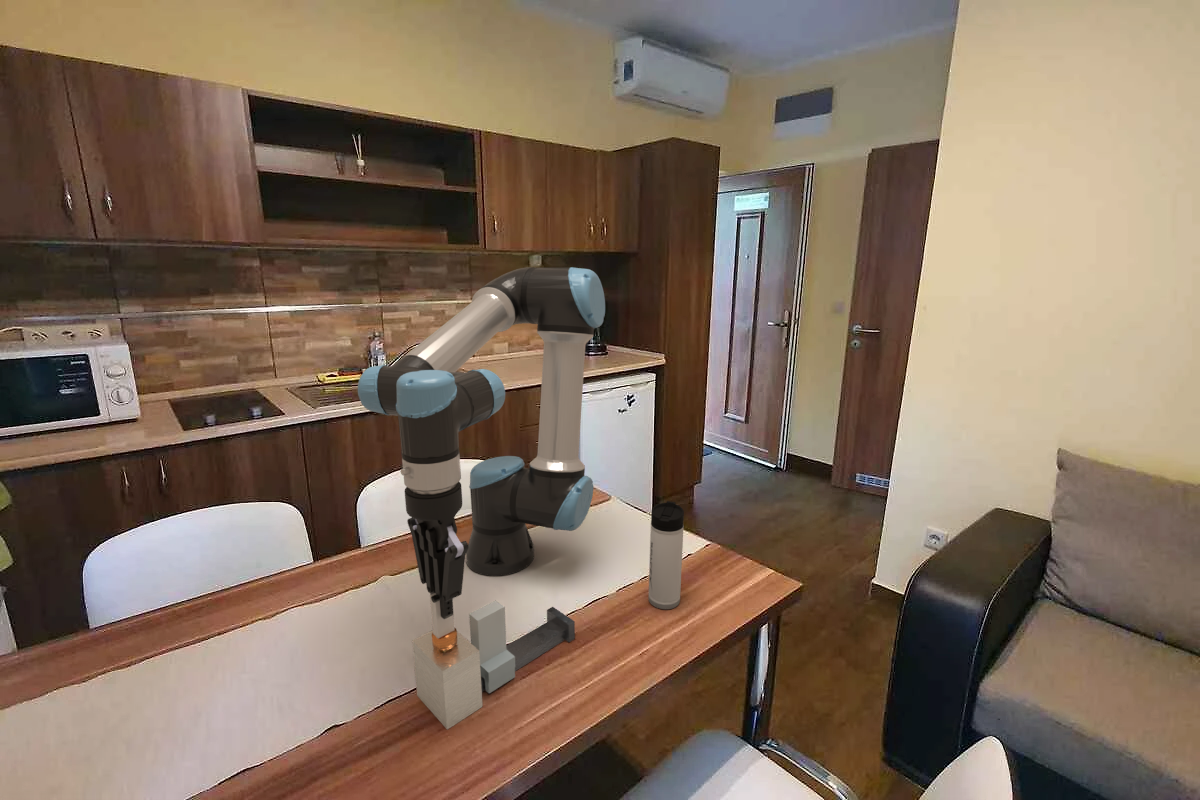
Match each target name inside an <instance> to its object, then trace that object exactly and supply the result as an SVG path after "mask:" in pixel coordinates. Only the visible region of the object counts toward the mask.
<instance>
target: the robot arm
mask: <svg viewBox="0 0 1200 800" xmlns="http://www.w3.org/2000/svg"><path fill="white" fill-rule="evenodd" d="M605 314H606V298H605V293H604V288H603V284H602V281H601V279H600V278H599V276H598V274H597V273H596V272H595V271H593V270H591V269H589V268H583V267H582V268H580V267H579V268H578V267H573V266H572V267H534V266H533V267H531V266H530V267H527V266H526V267H521V268H517V269H514V270H511V271H508V272H506V273H504V274H501V275H500V276H498V277H496V278H494V279H492V280H491V281H489V282H488V283H486V284H485V285H483V286H481V288H479V289H478V290H477V291H476V292H475V293H474V294H473V296H472V299H471V302H470V303H469V304H468V305H466V306H465V307H464V308H463V309H461V310H460V311H459V312H457V314H455V315H454V316H453V317H452V318H450V319H449V320H447V322H445V323H444V324H442V325H441V326H440V327H439V328H438V329H436V330H435V331H434V332H433V333H431V334H430V335H429V336H427V338H425V339H424V340H423V341H421V342H420V343H419V344H418V345H416V346H414V348H413V349H411V350H410V351H409V352H408V353H406V354H405V355H404V356H403V357H401V359H399V360H398V361H396V362H395V363H393V364H392V365H390V366H388V365H386V364H382V365H375V366H369V367H368V368H367V369H365V370H364V371H363V372H362V374H361V376H360V377H359V379H358V383H357V384H358V385H357V396H358V399H359V401H360V403H361V405H362V406H363V408H365V409H366V410H368V411H370V412H371V413H372V412H374V413H378V414H381V415H382V414H383V415H386V416H396V417H397V418H398V427H399V438H400V448H401V462H402V468H401V469H400V474H401V476H403V484H404V486H405V489H404V501H405V511H406V513H407V515H408V516H409V517H410V518H408V519H407V522H406V523H407V526H408V528H409V531H410V533H411V539H412V544H413V549H414V553H415V558H416V564H417V569H418V574H419V579H420V583H422V585H424V584H425V585H426V590H427V592H428V593H429V594H430V595H429V599H430V600H429V601H430V613H431V623H432V624H431V625H432V630H433V634H434V635H435V636H436V637H437V638H438V639H439V638H440V637H442V636H444V635H446V634H448V633H450V632H452V631H454V630H455V629H454V627H455V618H454V616H455V615H454V602H453V599H455V598H457V597H459V596H461V595H462V591H463V581H464V571H465V562H466V565H467V567H468V568H469V569H471V571H472V572H475V573H477V574H481V575H484V576H494V577H495V576H496V577H497V576H499V577H500V576H506V575H507V576H508V575H510V574H514V573H518V572H521V571H522V570H524V569H526V568H527V567H528V566H530V564H532V562H533V561H534V559H535V545H534V542H533V540H532V537H531V535H530V532H529V530H528V527H527V525H532V526H537V527H543V528H548V529H552V530H554V531H559V530H561V531H567V532H568V531H569V532H571V531H574V530H577V529H578V528H579V527H580V526H581V525H582V524H583V523H584V521H585V519H586V516H588V513H589V510H590V507H591V504H592V501H593V500H592V499H593V494H594V481H593V479H592V478H591V477H589V475H585V471H586V466H585V464H584V463H583V461H581V459H580V458H579V451H580V449H579V448H580V435H581V422H582V421H581V419H582V405H583V403H582V402H583V390H584V389H583V387H584V374H585V359H586V358H585V357H586V356H585V355H586V345H587V343H588V342H589V341H590V340H591V339H592V338H593V337H594V330H595V329H597V328H600V326H602V325H603V323H604V318H605V316H606V315H605ZM521 324H530V325H537V328H536V329H537V331H536V334H537V335H539V337H540V338H541V339H542V341H543V354H542V370H541V385H540V387H541V388H540V389H541V390H540V405H539V407H540V408H539V425H538V443H537V455H536V457H535V458H533V459H532V461H530V462H529V468H528V467H525V465H526V464H525V462H524V460H523V458H521V457H520V456H515V455H504V456H503V455H502V456H496V457H492V458H489V459H485V460H483V461H479V463H477V464H475V465H474V466H473V467H472V469H471V471H470V473H469V486H468V487H469V490H470V504H471V506H470V507H471V522H472V523H471V524H472V531H471V533H470V537H469V541H466V540H462V541H460V539H459V538H458V536H457V534H458V527H457V524H456V520H455V519H456V518H455V517H456V516H457V514H458V513H459V512H460V510H461V509H462V507H463V492H462V491H463V489H462V483H461V482H460V481H461V479H462V472H461V471H462V470H461V457H460V447H459V446H460V445H459V443H460V442H459V433H460V432H461V431H463V430H465V429H467V428H469V427H471V426H473V425H476V424H478V423H480V422H482V421H485V420H488V419H490V417H492V415H495V414H496V413H497V412H499V411H500V409H501V408H503V405H504V403H505V400H506V388H505V386H504V383H503V382H502V379H501V378H500V377H499V376H498V375H497V374H496V373H495V372H493V371H491V369H490V370H489V369H486V368H481V369H471V370H468V371H467V372H457V371H458V370H459V369H460V368H461V367H463V365H465V364H466V362H468V361H469V360H470V359H471V358H472V357H473V356H474V355H475V354H476V353H477V352H478V351H479V350H480V349H481V348H483V347H484V346H485V345H486V344H487V343H488V342H489V341H490V340H491V339H492V338H494V336H495V335H496V334H498V332H499V333H501V332H505V331H507V330H509V329H510V328H511V327H513V326H515V325H521ZM526 524H527V525H526Z"/></svg>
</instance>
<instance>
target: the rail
mask: <svg viewBox="0 0 1200 800" xmlns="http://www.w3.org/2000/svg"><path fill="white" fill-rule="evenodd" d="M575 624H576V623H575V620H573V619H571V618H570V617H569V616H567V615H566V614H564V613H563V612H562V611H560V610H559V609H557V608H556V607H554V606H551V607H550V608H548V609H546V622H544V623H542V624H541V625H540V626H538V627H536V628H535V629H532V630H531V631H529V632H527V633H526V634H524V635H522V636H521V637H519V638H517V639H515V640H513V641H512V642H511V643H509V644H508V643H507V644H506V649H507V650H508V651H509V652H510V653H511V654H512V655H514V656H515V672H516V671H518V670H519V669H521V668H523V667H525V666H526V665H527V664H529V663H531V662H532V661H534V660H535V659H537V658H538V657H541V656H542V655H544V654H545V653H547V652H549V651H550V650H552V649H553V648H555V647H556V646H557V645H559V644H561V643H563V642H564V641H566V642H568V643H570V642H572V641H574V640H575V638H576V636H575V634H576V633H575V632H576V631H575V629H576V627H575V626H576V625H575ZM432 632H433V629H432V630H430V631H429V632H426V633H424V634H422V635H420V636H418V637H416V638H414V639H413V640H412V641H411V643H412V644H411V645H412V655H413V663H414V675H415V677H414V678H415V686H416V687H415V688H416V696H417V698H418V699H419V700H420V701H421V702H422V703H423V704H424V705H425V707H427V708H428V710H430V712H431V713H432V714H433V716H434V717H435V718H436V719H437V720H438V721H439V722H440V723H441V724H442V726H443V727H444V728H445V729H446V730H447V731H448V730H449V729H450V728H452V727H454V726H455V725H457V724H458V723H460V722H462V721H463V720H464V719H466V718H467V717H469V716H471V715H472V714H474V713H475V712H477V711H479V709H482V708H483V692H486V690H485V679H484V678H483V677H482V676H481V671H480V654H479V650H478V649H477V648H476V647H475V646H474V645H472V644H471V641H469V640H468V639H467V638H465V636H464V635H462V634H461V633H460V632H459V631H458V630H457V644H456V645H455V646H454V647H452V648H451V649H449V650H448V651H446V652H444V653H441V652H440V650H436V649H435V648H434V647H433V645H432Z"/></svg>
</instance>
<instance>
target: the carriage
mask: <svg viewBox="0 0 1200 800" xmlns="http://www.w3.org/2000/svg"><path fill="white" fill-rule="evenodd" d="M505 608H506V606H504V605H503V604H502V603H500V602H499V601H498V600H496V599H495V600H494V601H491V602H489V603H488V604H486V605H483V606H482V607H480V608H478V609H475V610H474V611H472V612H470V613H468V615H469V617H468V618H469V619H468V620H469V630H470V631H469V632H470V635H469V636H470V643H471V644H472V645H474V646H475V647H476V648H477V649H478V650H479V654H480V671H481V676H482V677H483V678H484V679H485V692H486V693H488V694H491V693H492V692H494V691H496V690H497V689H498V688H500V687H503V686H504V685H505V684H506V683H508V682H509V681H511V680H513V679H515V678H516V671H515V656H514V655H512V654H511V653H510V652H509V651H508V650H507V649H506V646H507V631H506V611H505V610H506V609H505Z"/></svg>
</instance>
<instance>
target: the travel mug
mask: <svg viewBox="0 0 1200 800" xmlns="http://www.w3.org/2000/svg"><path fill="white" fill-rule="evenodd" d="M676 503H677V502H675V501H669V500H667V501H666V502H662V503H658V504H656V505H654V506H653V507H652V508H651V511H650V512H651V515H650V517H651V518H650V537H649V538H650V539H649V570H648V572H649V573H648V598H647V599H648V602H649V603H650V604H651V606H654V607H655V608H657V609H660V610H671V609H675V608H676V607H678V606H679V604H680V602H681V589H682V587H681V586H682V585H681V584H682V564H683V547H684V546H683V544H684V543H683V542H684V527H685V526H684V519H685V518H684V517H685V511H684V509H683V507H682V506H680V505H679V504H676Z"/></svg>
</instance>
